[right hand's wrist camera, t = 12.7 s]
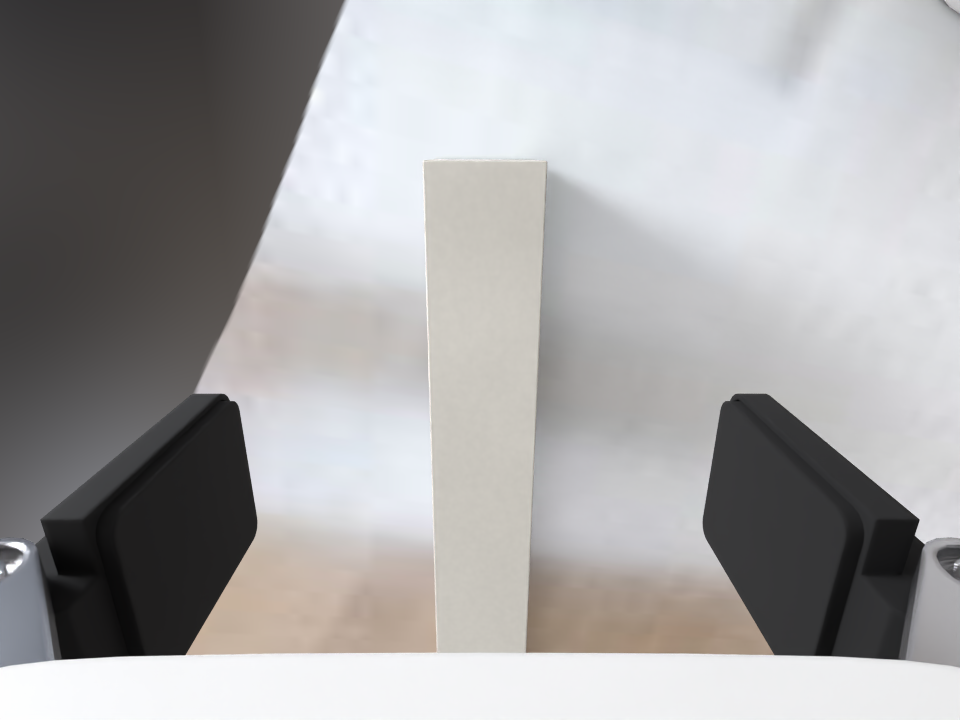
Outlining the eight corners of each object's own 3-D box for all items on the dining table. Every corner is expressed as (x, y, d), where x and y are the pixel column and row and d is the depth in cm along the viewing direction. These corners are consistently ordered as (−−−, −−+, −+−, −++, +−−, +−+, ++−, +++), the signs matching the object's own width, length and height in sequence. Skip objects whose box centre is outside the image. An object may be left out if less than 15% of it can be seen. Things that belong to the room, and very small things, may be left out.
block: (435, 159, 31) (422, 160, 24) (531, 159, 31) (547, 161, 24) (450, 844, 51) (445, 956, 44) (508, 844, 51) (512, 957, 44)
